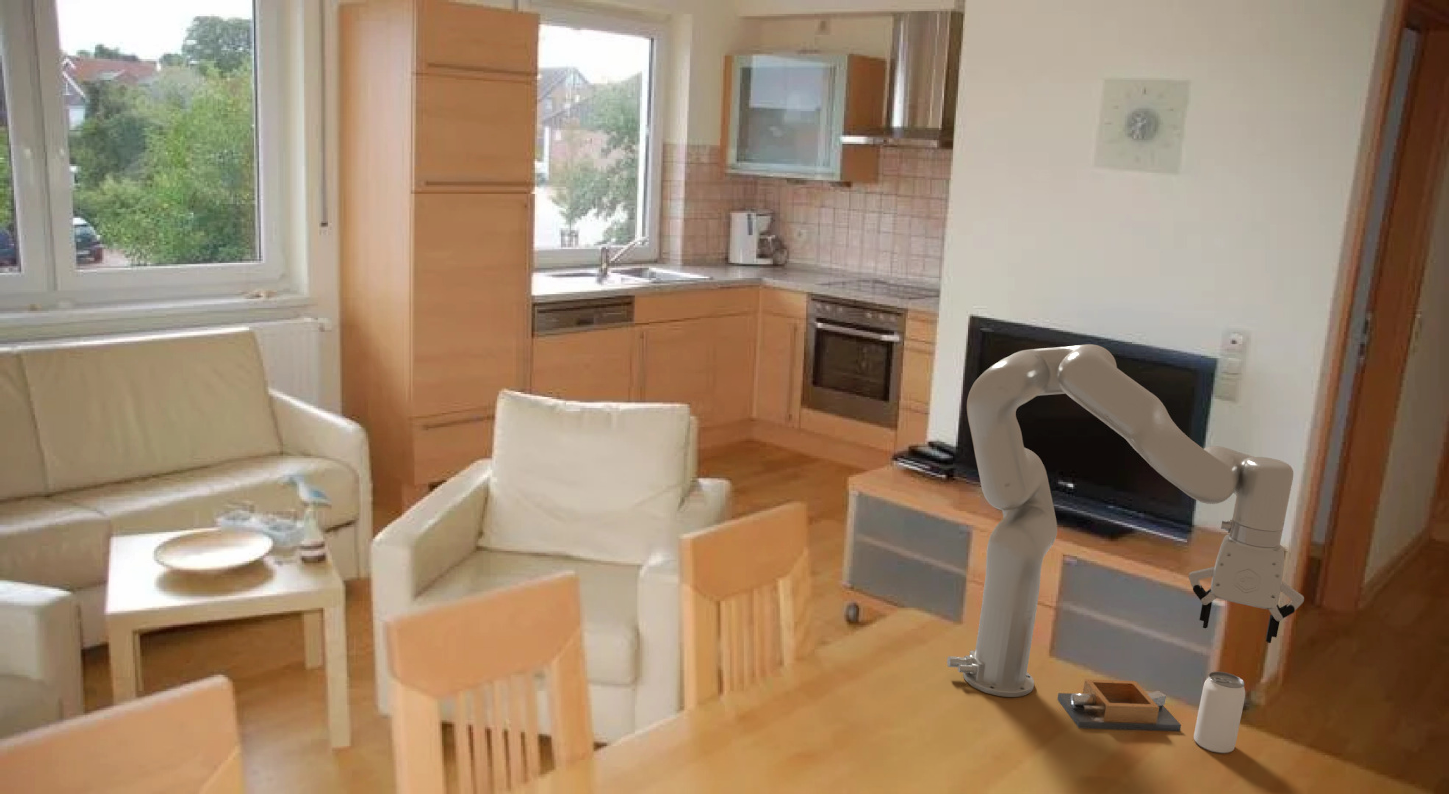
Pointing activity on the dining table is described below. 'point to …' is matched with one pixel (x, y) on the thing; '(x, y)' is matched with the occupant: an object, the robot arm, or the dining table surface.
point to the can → (1220, 712)
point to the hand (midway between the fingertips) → (1236, 632)
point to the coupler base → (1118, 707)
